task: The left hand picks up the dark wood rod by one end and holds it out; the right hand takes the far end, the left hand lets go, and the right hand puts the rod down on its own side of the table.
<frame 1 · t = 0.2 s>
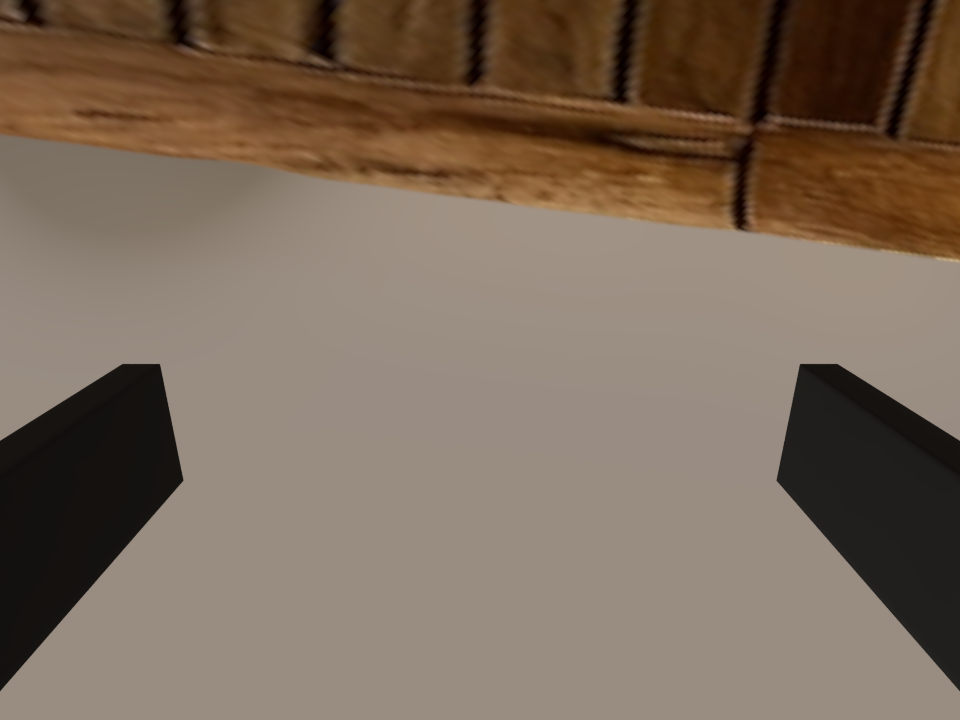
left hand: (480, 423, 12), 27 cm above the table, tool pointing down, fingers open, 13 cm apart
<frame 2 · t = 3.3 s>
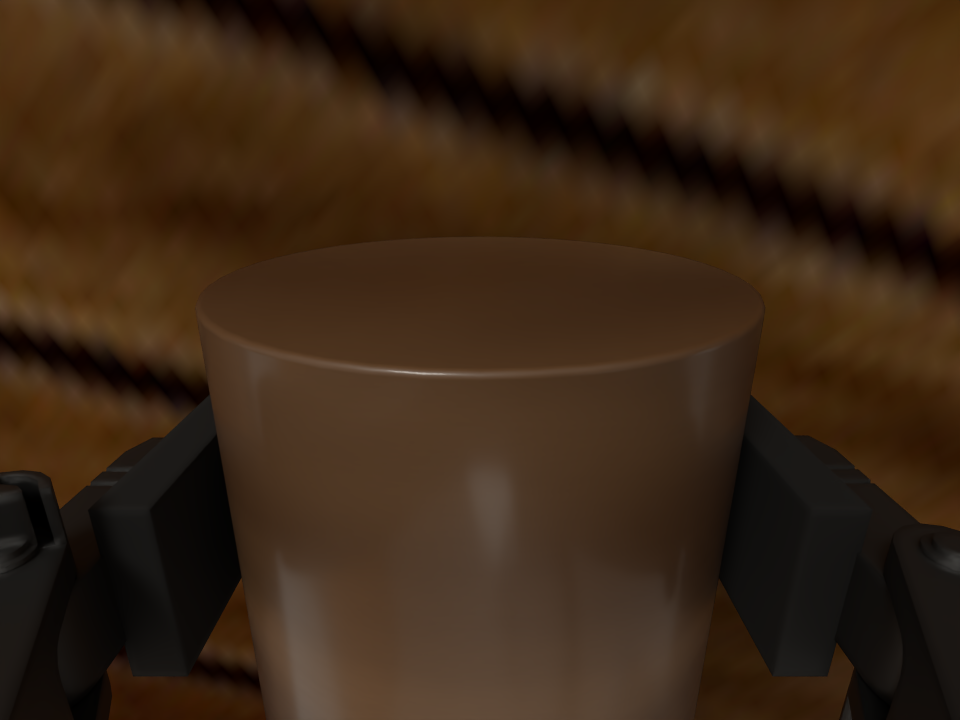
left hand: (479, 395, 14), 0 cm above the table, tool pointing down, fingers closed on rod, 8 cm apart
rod: (480, 631, 17), on the table, touching left hand
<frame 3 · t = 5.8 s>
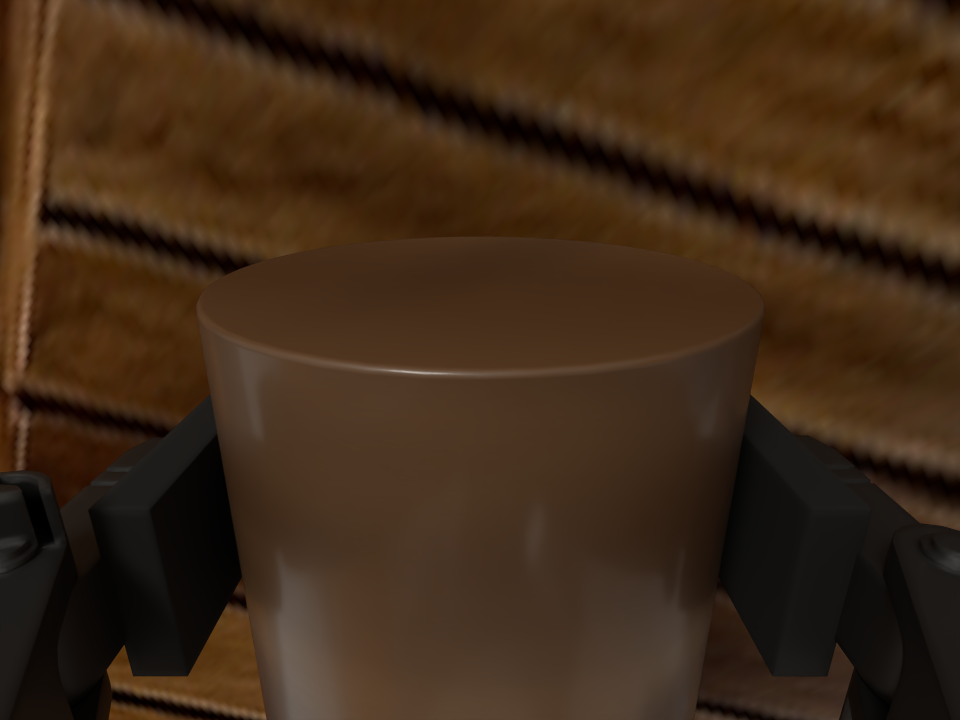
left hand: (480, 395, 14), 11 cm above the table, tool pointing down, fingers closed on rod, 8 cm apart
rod: (480, 631, 17), point 11 cm above the table, touching left hand
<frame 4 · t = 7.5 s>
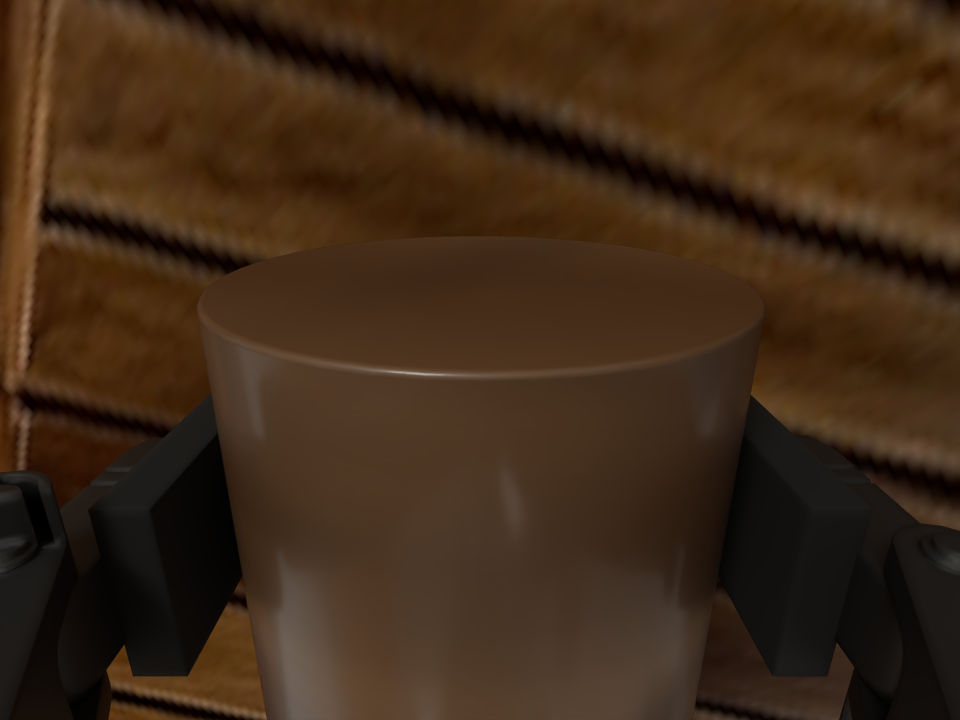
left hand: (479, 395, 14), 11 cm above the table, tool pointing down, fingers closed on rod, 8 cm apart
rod: (479, 630, 17), point 11 cm above the table, touching left hand, right hand
when the left hand's fingers open (11 cm above the table, at t = 8.5 s): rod stays where it is, held by the right hand.
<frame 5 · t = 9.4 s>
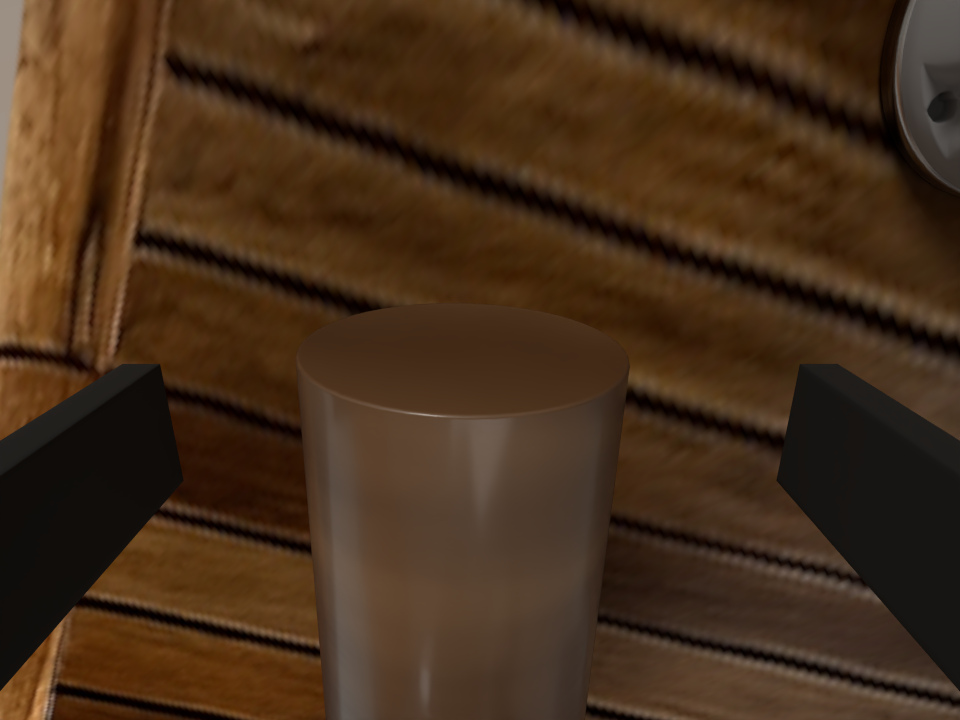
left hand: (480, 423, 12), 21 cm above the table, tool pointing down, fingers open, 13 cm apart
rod: (458, 587, 22), point 14 cm above the table, touching right hand
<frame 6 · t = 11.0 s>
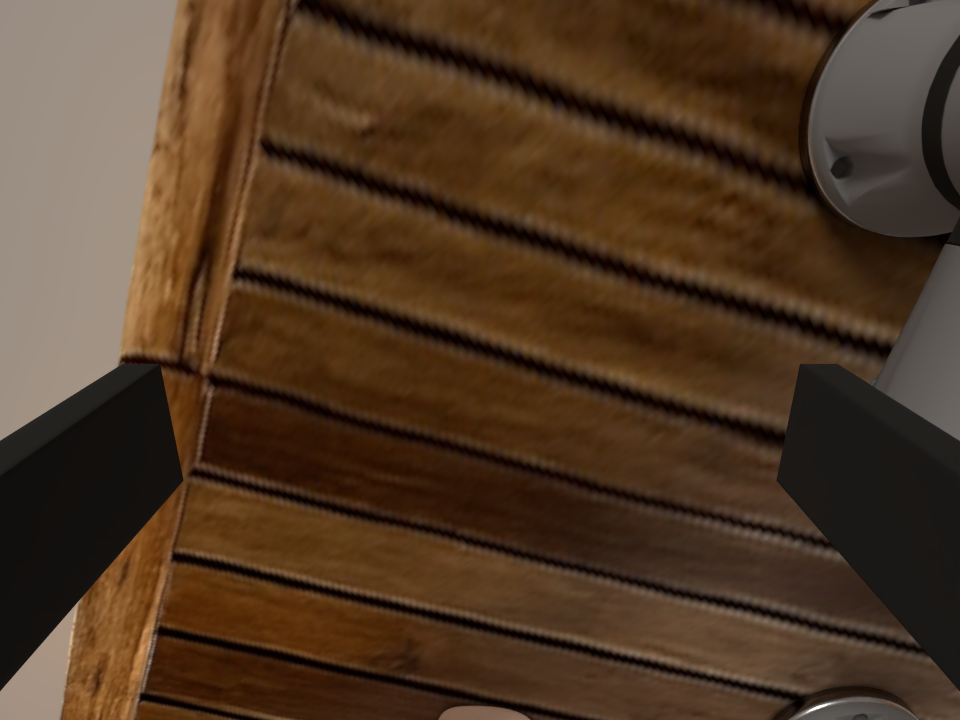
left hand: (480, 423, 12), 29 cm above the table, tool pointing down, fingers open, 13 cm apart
when the right hand's fingers open (2 cm above the table, at t = 14.5 s): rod drops 1 cm, on the table.
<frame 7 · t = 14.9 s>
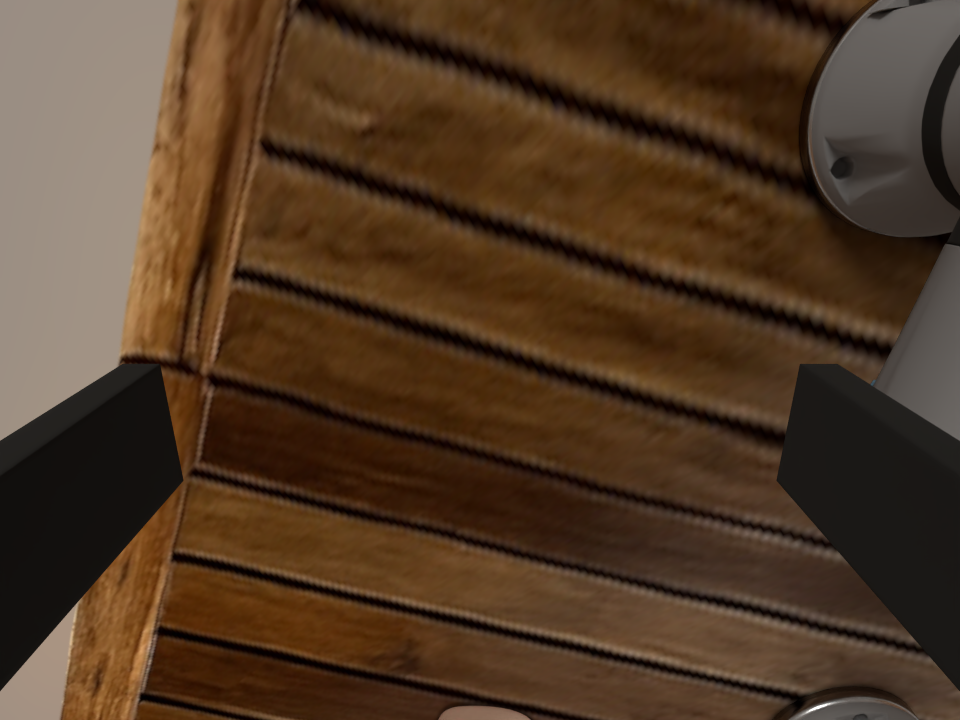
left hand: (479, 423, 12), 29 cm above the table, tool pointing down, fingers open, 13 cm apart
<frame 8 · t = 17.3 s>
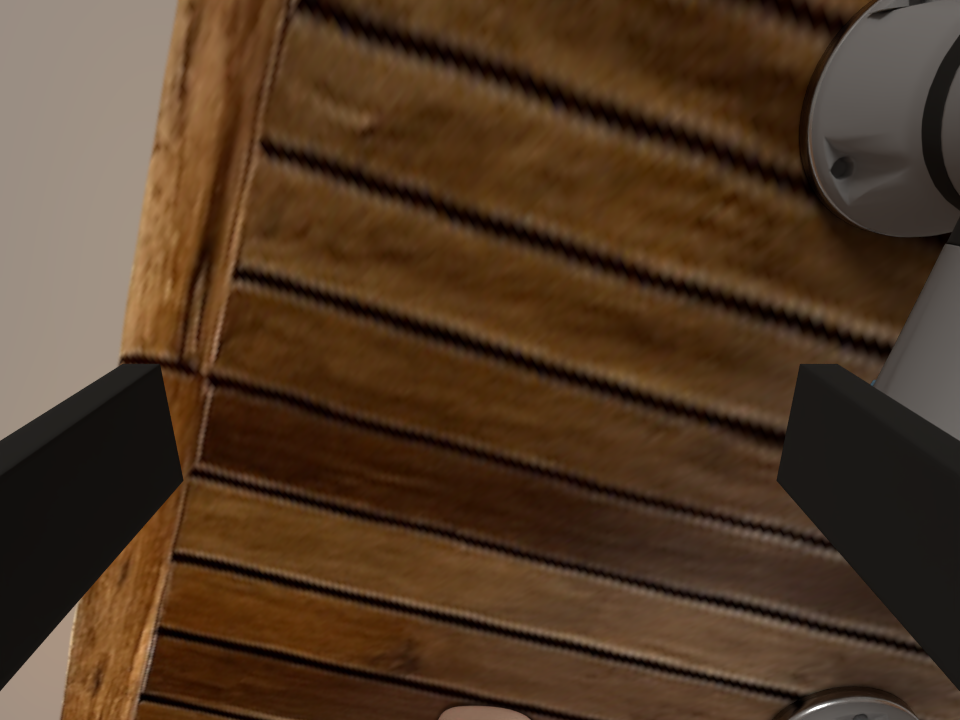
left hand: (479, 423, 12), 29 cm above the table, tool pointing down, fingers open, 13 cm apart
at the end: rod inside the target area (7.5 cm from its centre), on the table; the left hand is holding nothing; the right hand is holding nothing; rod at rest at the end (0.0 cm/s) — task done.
